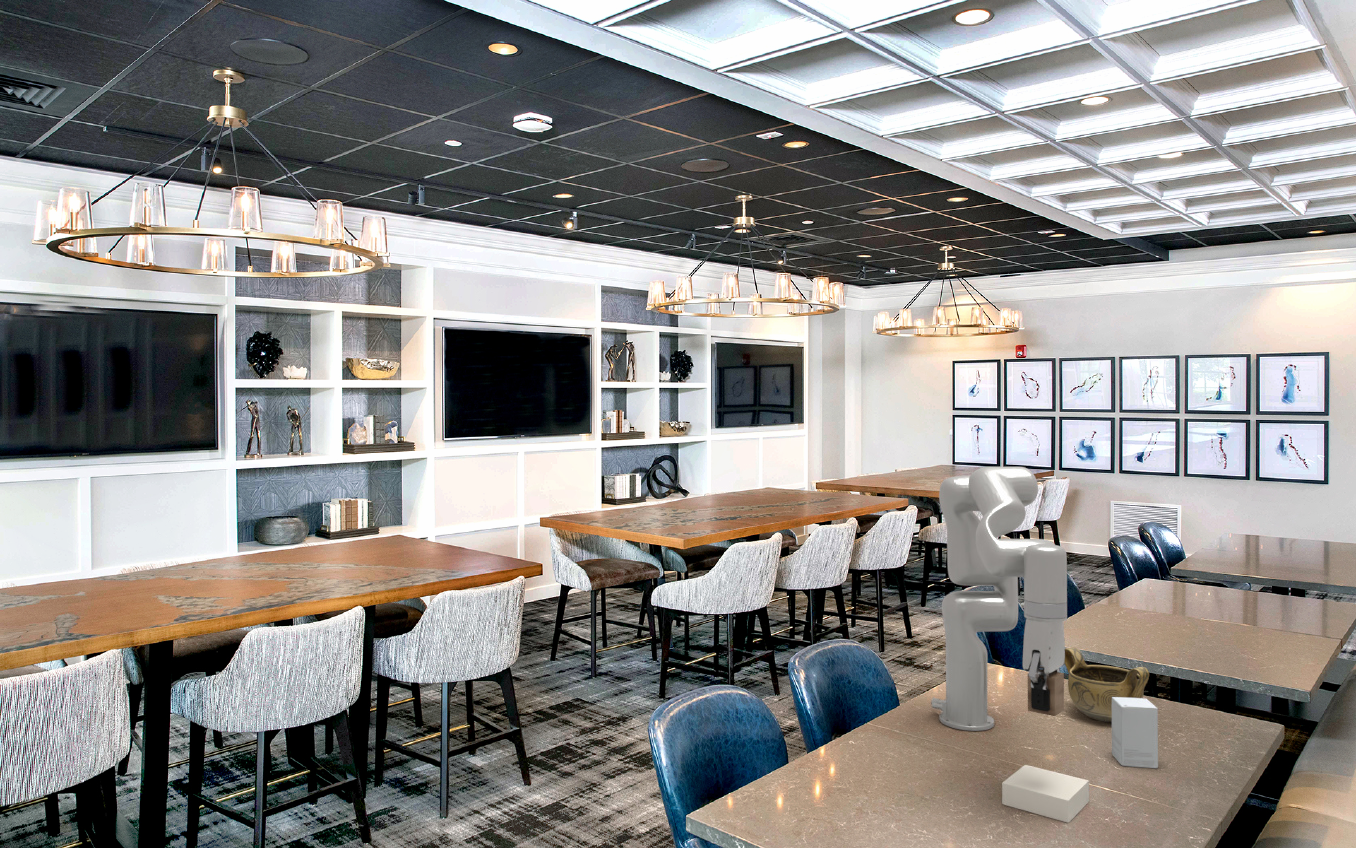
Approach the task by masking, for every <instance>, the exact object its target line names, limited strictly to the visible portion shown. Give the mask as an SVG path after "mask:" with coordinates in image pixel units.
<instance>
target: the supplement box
mask: <svg viewBox="0 0 1356 848" xmlns="http://www.w3.org/2000/svg"><path fill="white" fill-rule="evenodd" d="M1158 710H1159V709H1158V707H1157V706H1156V705H1154V704H1153V703H1152V702H1151V701H1150V700H1149V699H1147V698H1145V697H1143V698H1126V697H1112V722H1111V754H1112V756H1113V757H1114V758H1115V760H1116V761H1118V763H1119V764H1120V765H1121V766H1123V767H1135V768H1146V769H1147V768H1148V769H1149V768H1151V769H1158V768H1159V740H1158V739H1159V718H1158V717H1159V715H1158Z"/></svg>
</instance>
